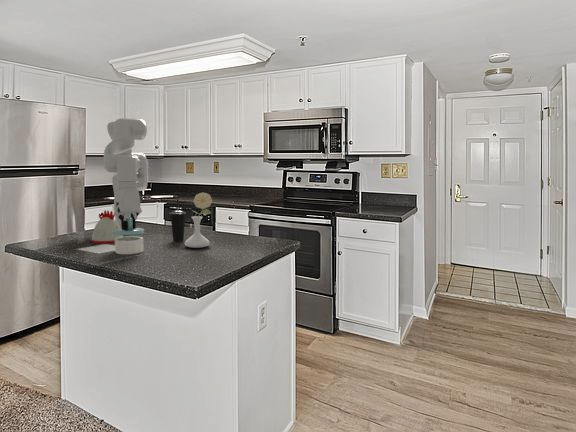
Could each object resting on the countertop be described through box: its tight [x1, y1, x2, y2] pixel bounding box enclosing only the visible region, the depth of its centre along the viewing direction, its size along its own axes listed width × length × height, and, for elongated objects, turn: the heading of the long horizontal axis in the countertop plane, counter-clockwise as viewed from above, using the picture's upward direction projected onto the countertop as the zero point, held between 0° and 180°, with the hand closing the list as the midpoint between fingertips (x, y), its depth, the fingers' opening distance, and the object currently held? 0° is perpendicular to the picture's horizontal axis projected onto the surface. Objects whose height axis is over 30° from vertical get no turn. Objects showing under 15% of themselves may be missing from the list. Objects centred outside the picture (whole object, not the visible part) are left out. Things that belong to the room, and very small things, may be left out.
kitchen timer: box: [91, 209, 124, 244], centre depth 201 cm, size 14×14×15 cm
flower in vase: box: [184, 191, 213, 249], centre depth 190 cm, size 13×11×25 cm
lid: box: [113, 218, 145, 236], centre depth 177 cm, size 12×12×6 cm
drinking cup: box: [169, 199, 187, 242], centre depth 205 cm, size 8×8×20 cm
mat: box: [76, 243, 115, 255], centre depth 183 cm, size 15×14×1 cm
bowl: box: [114, 235, 145, 256], centre depth 178 cm, size 11×11×6 cm
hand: (128, 228), depth 177 cm, fingers closed on lid, 3 cm apart
